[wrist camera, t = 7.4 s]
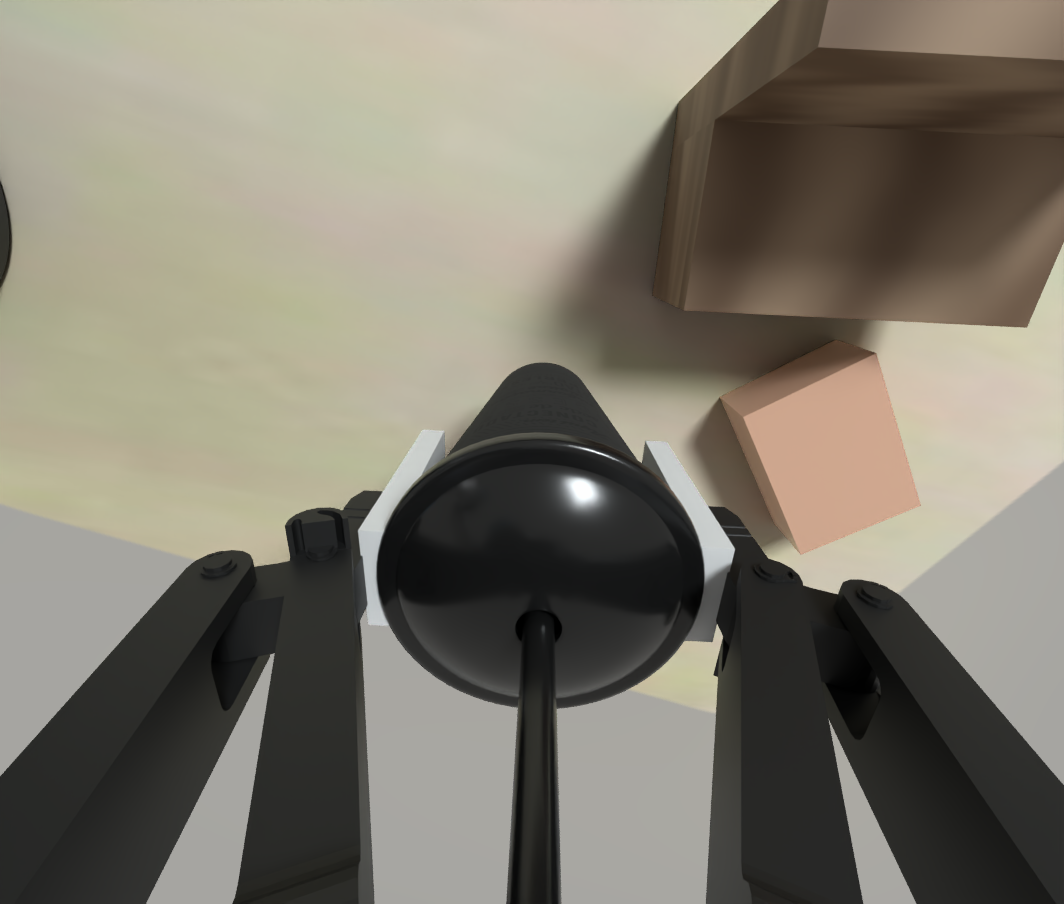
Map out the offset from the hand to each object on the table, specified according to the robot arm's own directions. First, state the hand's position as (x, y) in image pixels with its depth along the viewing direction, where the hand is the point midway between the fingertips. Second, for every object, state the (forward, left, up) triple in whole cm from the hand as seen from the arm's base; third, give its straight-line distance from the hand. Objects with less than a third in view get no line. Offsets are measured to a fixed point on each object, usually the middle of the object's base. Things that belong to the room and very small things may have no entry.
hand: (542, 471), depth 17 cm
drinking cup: (0, 0, -7) cm, 7 cm away
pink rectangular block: (+16, -3, -13) cm, 21 cm away
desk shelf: (+13, +9, -13) cm, 21 cm away
